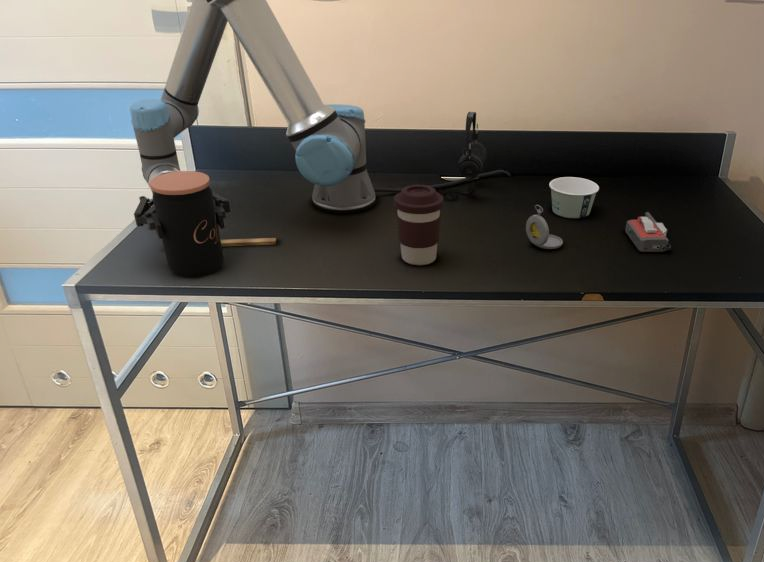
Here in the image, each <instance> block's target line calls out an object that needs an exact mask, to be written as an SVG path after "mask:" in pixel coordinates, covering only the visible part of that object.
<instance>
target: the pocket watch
mask: <svg viewBox="0 0 764 562" xmlns="http://www.w3.org/2000/svg"><path fill="white" fill-rule="evenodd" d="M537 207H539V208H537ZM534 209H535V210H536V212H537V214H532V215H530V216H529V217H528V219H527V220H526V224H525V231H526V235H527V238H528V239H529V241H530V242H531V244H533V245H534V246H536V247H538V248H540V249H544V250H555V249H559V248H561V247H562V246H563V243H564V241H563V238H561V237H560V236H558V235H554V234H550V229H549V226H548V223H547V221H546V220H545V218H544V217H543V216H541V214H542V213H544V208H543V207H542V206H541V205H539V204H535V205H534Z"/></svg>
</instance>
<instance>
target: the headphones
mask: <svg viewBox="0 0 764 562" xmlns="http://www.w3.org/2000/svg"><path fill="white" fill-rule="evenodd" d="M478 128H479V124H478V123H477V112H476V111H468V112H467V114H466V119H465V135H464V137H465V139H464V148H463V152H462V156H461V157H460V158H459V160H458V161H457V167H458V170H459V172H460V175H461V176H462V177H463V178H474V177H476V176H477V175H478V174H481V172H482V171H483V169H484V163H485V162H486V161H487V158H488V154H487V153H488V152H487V148H486V147H485V146H484V144H482V143H481V142H479V141H478V140H479V132H476V130H478ZM471 129H472V132H471ZM472 140H473V141H472ZM472 181H473V182H472V183H474V182H475V179H474V180H472ZM473 188H474V184H472V185H471V188H470V189H469V191H462V192H460V191H456V190H454V192H456V193H459V194H462V195H467V196H468V195H469V196H470V197H472V196H473V194H472V193H471V192H472V191H473ZM442 190H443V188H440V190H439V192H440V193H442V194H441V195H442V197H443V199H444V200H447V201H450V199H448V198H446V197H444V194H445V193H447V194H450V195H452V196H454V197H456V195H455V194H453V193H451V192H449V191H448V190H446V191H443V192H442ZM452 201H455V198H454V199H452Z"/></svg>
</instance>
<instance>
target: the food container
mask: <svg viewBox="0 0 764 562" xmlns="http://www.w3.org/2000/svg"><path fill="white" fill-rule="evenodd" d="M548 185H549V186H548V187H549V188H550V195H551V208H552V209H551V210H552V212H553V213H554V214H555V215H557V216H560V217H563V218H568V219H581V218H586V217H587V216H589V215H590V213H591V211H592V208H593V204H594V201H595V198H596V195H597V193H598V192H599V190H600V186H599V185H598V184H597V183H596V182H594V181H592V180H590V179H588V178H583V177H575V176H563V177H556V178H554V179H552V180H551V181H549V184H548Z"/></svg>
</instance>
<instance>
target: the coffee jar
mask: <svg viewBox="0 0 764 562" xmlns="http://www.w3.org/2000/svg"><path fill="white" fill-rule="evenodd" d="M210 185H211V179H210V177H209V175H208V174H206V173H203V172H202V171H201V172H200V171H195V170H180V171H177V172H170V173H166V174H162V175H159V176H157V177H155V178H153V179H152V180H151V181H150V187H151V189H152V190H153V191H154V193H153V194H152V199H153V202H154V207H155V211H156V215H157V218H158V220H159V222H160V224H161V228H162V232H163V237H164V239H161V242H162V246H163V251H164V255H165V259H166V265H167V266H168V268H169V269H170V271H171V272H173V274H175V275H177V276H179V277H184V278H200V277H205V276H208V275H211V274H214V273H216V272H217V271H218V270H219V269H220V268H222V264H223V263H224V257H225V256H224V251H223V246H222V245H221V240H222V239H221V233H220V229H219V228H220V227H219V225H218V223H217V217H216V211H215V205H214V200H213V194H212V192H213V190H212V189H211V187H210ZM150 187H149V188H150ZM151 189H150V190H151Z"/></svg>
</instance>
